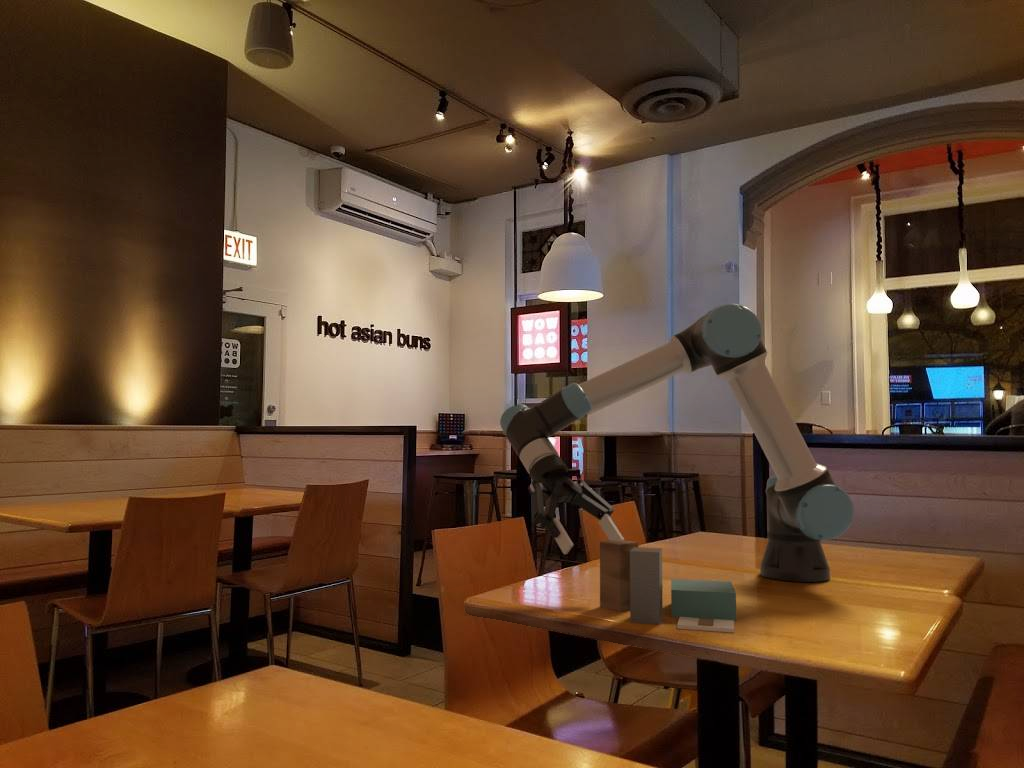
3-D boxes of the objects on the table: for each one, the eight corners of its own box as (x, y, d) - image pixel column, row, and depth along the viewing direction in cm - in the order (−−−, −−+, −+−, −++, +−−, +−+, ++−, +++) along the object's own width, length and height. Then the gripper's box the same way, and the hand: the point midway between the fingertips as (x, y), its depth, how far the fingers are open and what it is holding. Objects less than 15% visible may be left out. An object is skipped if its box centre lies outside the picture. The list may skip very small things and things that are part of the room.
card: (734, 624, 127) (733, 619, 127) (734, 632, 122) (734, 627, 122) (679, 620, 130) (679, 615, 130) (677, 628, 124) (677, 623, 124)
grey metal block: (662, 617, 132) (661, 548, 133) (660, 624, 127) (659, 552, 128) (634, 615, 133) (633, 547, 134) (630, 622, 128) (629, 551, 129)
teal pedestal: (731, 608, 141) (731, 581, 141) (736, 622, 130) (735, 592, 130) (671, 605, 143) (671, 578, 143) (671, 618, 132) (671, 589, 133)
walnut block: (618, 603, 143) (618, 539, 144) (638, 607, 139) (637, 542, 140) (600, 606, 140) (599, 541, 141) (619, 611, 136) (619, 544, 137)
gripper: (579, 476, 167) (629, 553, 154) (488, 479, 151) (536, 565, 139) (596, 452, 163) (649, 529, 150) (505, 453, 148) (555, 539, 135)
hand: (595, 546), depth 144 cm, fingers open, 13 cm apart
